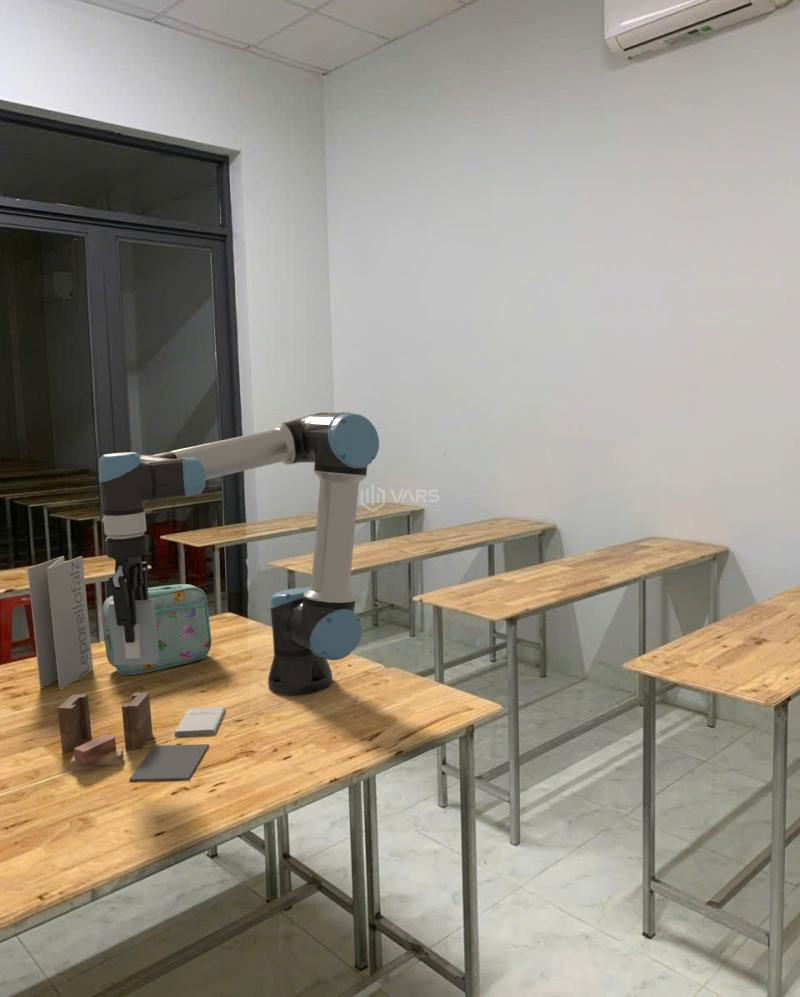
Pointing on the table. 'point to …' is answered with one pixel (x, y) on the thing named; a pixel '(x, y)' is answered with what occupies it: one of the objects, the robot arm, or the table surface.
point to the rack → (78, 725)
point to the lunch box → (170, 628)
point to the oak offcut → (100, 761)
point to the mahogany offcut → (95, 749)
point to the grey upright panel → (146, 633)
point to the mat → (170, 762)
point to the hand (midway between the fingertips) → (136, 654)
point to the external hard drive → (200, 721)
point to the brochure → (60, 620)
